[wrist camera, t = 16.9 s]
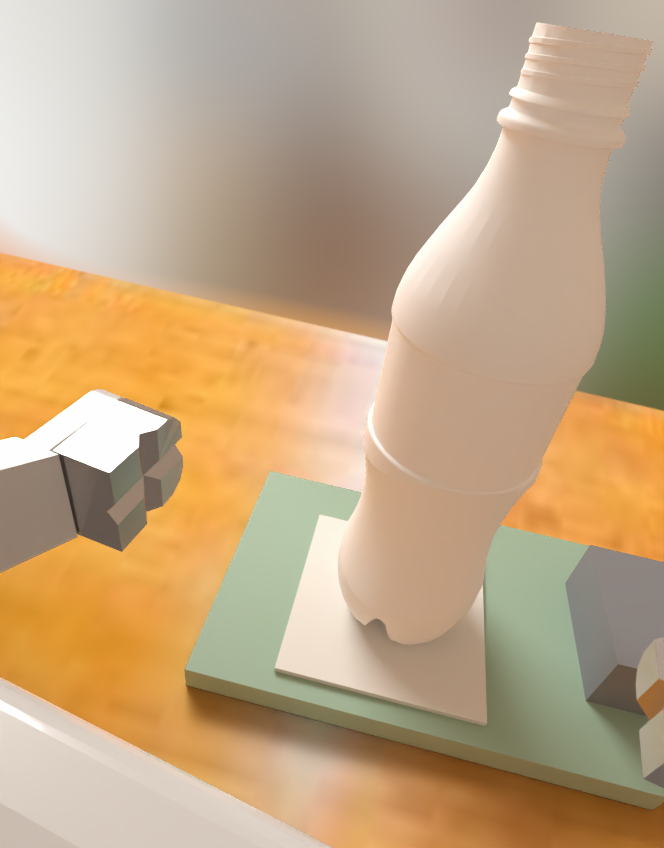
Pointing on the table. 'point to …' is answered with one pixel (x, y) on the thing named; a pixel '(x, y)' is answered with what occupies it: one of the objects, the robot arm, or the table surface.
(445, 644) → the green board with pad
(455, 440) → the water bottle
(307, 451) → the table surface
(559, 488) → the table surface
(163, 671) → the table surface
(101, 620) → the table surface
